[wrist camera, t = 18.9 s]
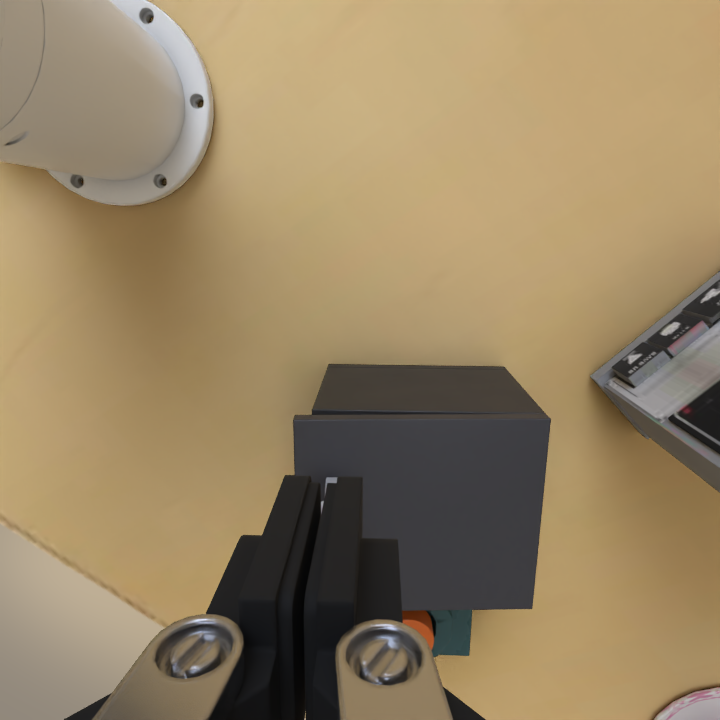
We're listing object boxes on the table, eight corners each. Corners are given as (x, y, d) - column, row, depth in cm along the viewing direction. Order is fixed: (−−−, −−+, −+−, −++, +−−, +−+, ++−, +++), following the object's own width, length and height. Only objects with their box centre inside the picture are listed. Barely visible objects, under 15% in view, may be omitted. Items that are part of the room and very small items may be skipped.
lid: (299, 603, 31) (290, 678, 26) (294, 414, 28) (283, 456, 23) (527, 599, 31) (563, 673, 26) (545, 413, 29) (589, 454, 23)
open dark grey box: (329, 508, 41) (314, 593, 32) (328, 364, 39) (311, 409, 29) (493, 512, 41) (528, 599, 31) (504, 366, 38) (546, 413, 29)
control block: (343, 631, 44) (339, 670, 40) (342, 545, 42) (339, 578, 38) (464, 635, 44) (473, 674, 40) (470, 548, 42) (479, 582, 38)
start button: (382, 643, 40) (382, 661, 38) (383, 602, 39) (383, 619, 37) (430, 644, 40) (433, 663, 38) (432, 603, 39) (435, 620, 37)
